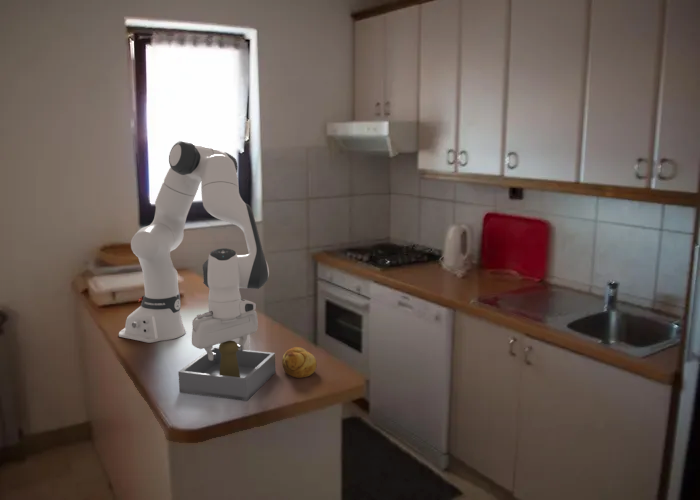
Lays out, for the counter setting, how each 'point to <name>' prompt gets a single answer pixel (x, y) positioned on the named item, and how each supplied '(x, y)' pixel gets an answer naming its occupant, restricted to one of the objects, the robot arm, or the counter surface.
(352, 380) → the counter surface
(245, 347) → the shot glass
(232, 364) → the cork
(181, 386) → the bin
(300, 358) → the bread roll
